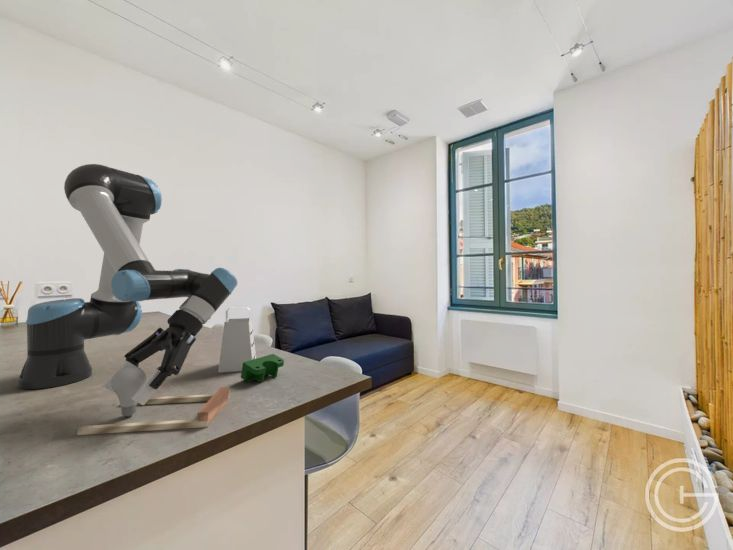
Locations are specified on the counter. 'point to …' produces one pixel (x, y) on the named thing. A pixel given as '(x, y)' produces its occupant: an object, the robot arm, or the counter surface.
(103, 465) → the counter surface
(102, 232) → the robot arm
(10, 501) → the counter surface
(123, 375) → the lightbulb
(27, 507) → the counter surface
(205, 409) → the guide
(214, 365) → the counter surface
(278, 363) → the clamp
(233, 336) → the grater
